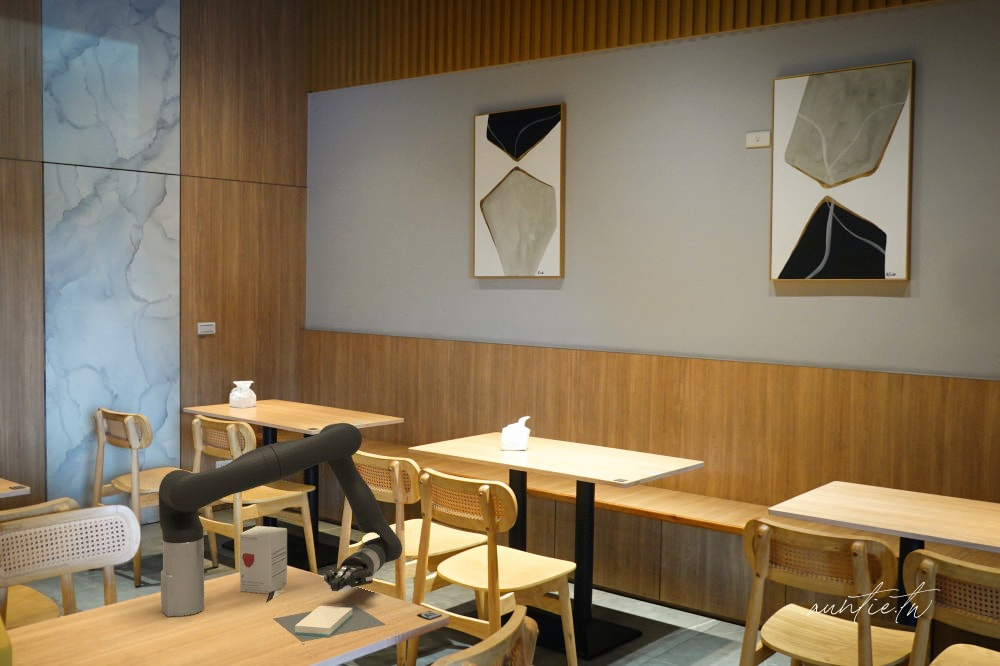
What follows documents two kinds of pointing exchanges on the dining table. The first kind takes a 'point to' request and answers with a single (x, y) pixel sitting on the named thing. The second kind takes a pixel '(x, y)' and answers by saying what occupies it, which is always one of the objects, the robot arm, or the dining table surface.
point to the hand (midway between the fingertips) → (334, 586)
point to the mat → (355, 623)
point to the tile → (323, 621)
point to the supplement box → (263, 559)
